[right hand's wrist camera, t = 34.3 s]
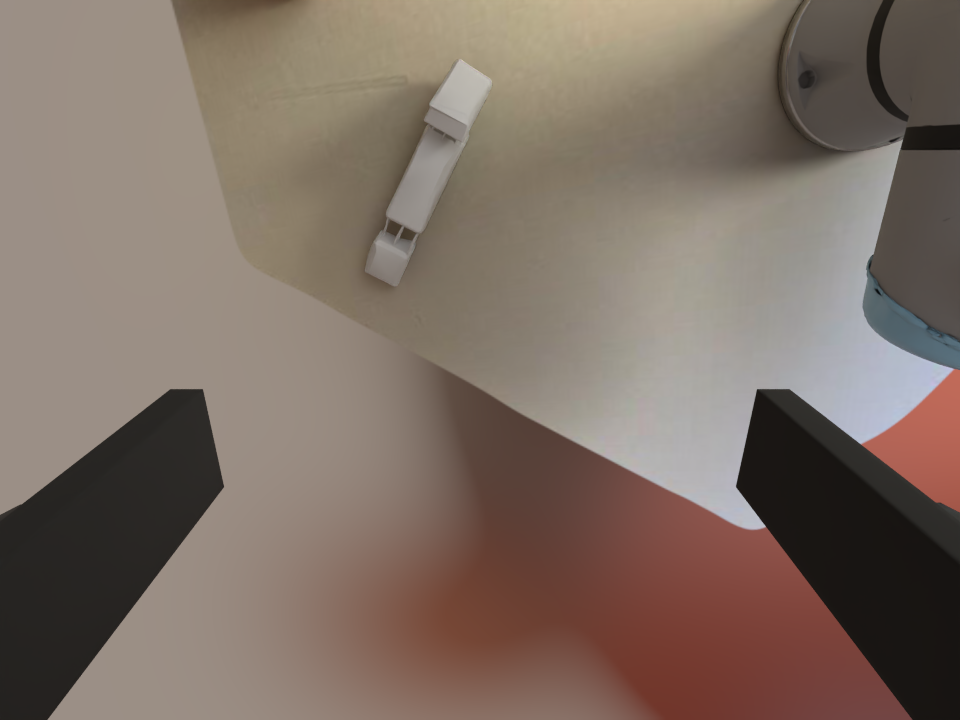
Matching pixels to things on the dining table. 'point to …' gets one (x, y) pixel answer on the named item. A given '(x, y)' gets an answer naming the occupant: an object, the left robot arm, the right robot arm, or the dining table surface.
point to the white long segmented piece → (429, 168)
